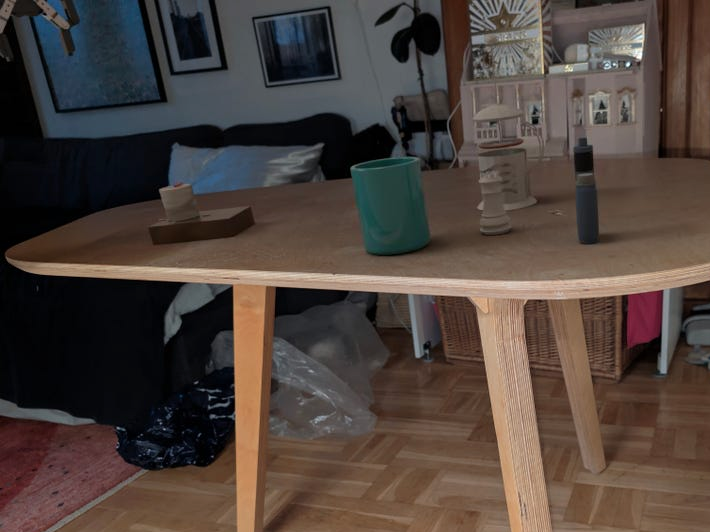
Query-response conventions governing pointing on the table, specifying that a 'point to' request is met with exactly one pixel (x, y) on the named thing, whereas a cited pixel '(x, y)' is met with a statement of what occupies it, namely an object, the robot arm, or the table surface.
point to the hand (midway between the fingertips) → (41, 58)
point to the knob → (179, 202)
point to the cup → (391, 205)
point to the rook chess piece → (493, 206)
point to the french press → (507, 153)
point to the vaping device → (586, 193)
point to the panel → (203, 226)
